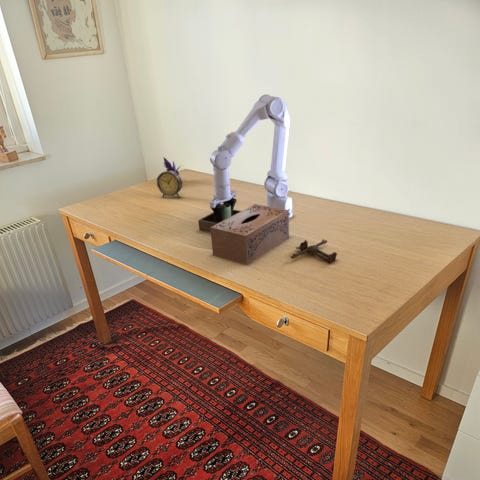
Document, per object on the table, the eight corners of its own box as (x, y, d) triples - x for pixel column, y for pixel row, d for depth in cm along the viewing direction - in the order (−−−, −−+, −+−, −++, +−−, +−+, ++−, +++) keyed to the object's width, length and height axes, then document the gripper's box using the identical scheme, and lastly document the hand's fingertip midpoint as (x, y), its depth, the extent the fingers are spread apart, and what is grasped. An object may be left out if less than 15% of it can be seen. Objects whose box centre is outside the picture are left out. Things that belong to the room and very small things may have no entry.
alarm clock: (158, 198, 206) (153, 162, 197) (163, 194, 210) (158, 159, 201) (180, 199, 203) (175, 162, 194) (185, 195, 207) (180, 159, 198)
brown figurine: (315, 262, 135) (281, 245, 144) (314, 274, 138) (280, 257, 146) (351, 244, 145) (317, 229, 153) (349, 256, 147) (315, 240, 156)
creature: (189, 179, 228) (186, 155, 222) (163, 189, 217) (159, 163, 211) (177, 177, 233) (174, 153, 227) (151, 186, 222) (147, 161, 215)
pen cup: (234, 225, 171) (233, 204, 167) (226, 229, 168) (225, 209, 163) (223, 222, 174) (222, 202, 170) (215, 227, 170) (213, 207, 166)
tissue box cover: (255, 229, 168) (255, 204, 162) (288, 237, 160) (288, 210, 155) (212, 255, 151) (210, 227, 145) (247, 264, 143) (245, 235, 138)
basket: (252, 224, 173) (252, 212, 170) (230, 238, 162) (229, 226, 160) (222, 218, 180) (221, 207, 177) (199, 231, 169) (198, 220, 167)
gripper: (224, 178, 169) (227, 212, 176) (201, 188, 159) (205, 224, 167) (240, 180, 166) (241, 215, 173) (217, 191, 156) (220, 228, 163)
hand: (224, 220), depth 170 cm, fingers closed on pen cup, 5 cm apart
